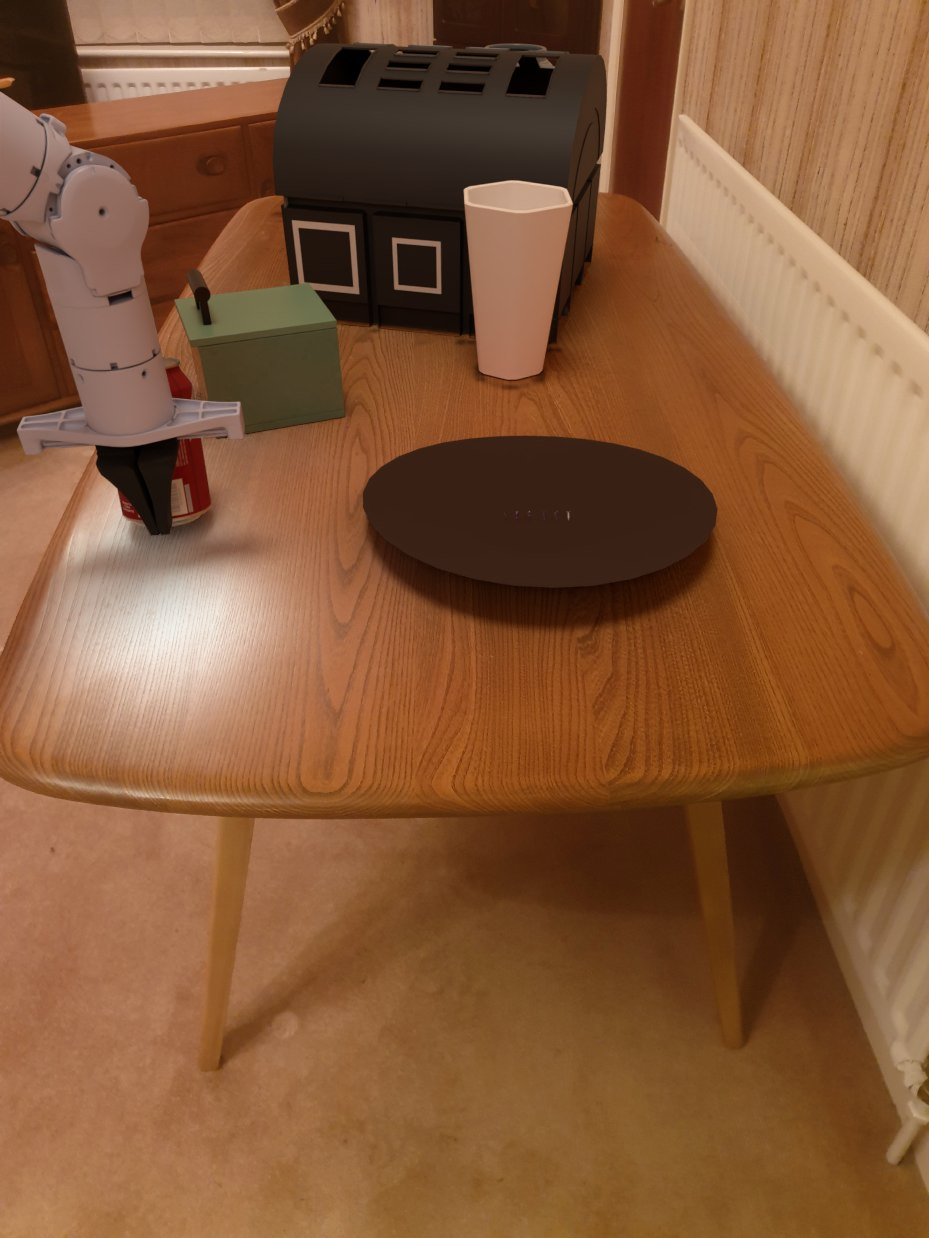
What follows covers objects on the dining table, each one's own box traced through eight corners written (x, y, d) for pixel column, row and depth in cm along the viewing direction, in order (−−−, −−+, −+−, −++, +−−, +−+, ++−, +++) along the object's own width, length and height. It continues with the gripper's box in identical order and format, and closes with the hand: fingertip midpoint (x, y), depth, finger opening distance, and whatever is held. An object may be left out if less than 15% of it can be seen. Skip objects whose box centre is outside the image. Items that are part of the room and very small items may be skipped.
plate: (674, 436, 81) (681, 400, 79) (750, 630, 60) (762, 588, 58) (377, 435, 81) (375, 398, 79) (347, 628, 60) (342, 587, 57)
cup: (561, 388, 89) (577, 212, 78) (463, 388, 89) (465, 211, 78) (551, 345, 98) (564, 180, 87) (462, 345, 98) (463, 180, 87)
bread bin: (216, 438, 80) (198, 347, 75) (199, 392, 88) (182, 306, 82) (345, 416, 84) (337, 328, 78) (318, 374, 91) (309, 290, 86)
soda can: (198, 531, 66) (171, 368, 60) (110, 533, 66) (76, 371, 61) (222, 503, 72) (199, 354, 67) (142, 505, 72) (113, 356, 67)
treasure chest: (554, 347, 97) (575, 78, 81) (290, 319, 103) (258, 63, 86) (592, 259, 121) (614, 37, 104) (375, 240, 127) (363, 27, 110)
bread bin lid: (191, 347, 75) (181, 300, 72) (175, 306, 82) (166, 262, 79) (337, 327, 78) (333, 281, 76) (309, 290, 86) (305, 247, 83)
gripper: (231, 323, 60) (260, 491, 69) (11, 336, 58) (70, 507, 67) (227, 365, 55) (259, 542, 63) (-16, 380, 53) (52, 560, 61)
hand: (161, 527), depth 65 cm, fingers closed, pressing on soda can
